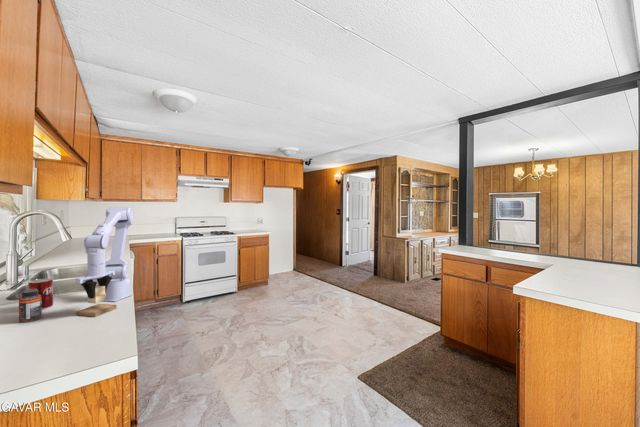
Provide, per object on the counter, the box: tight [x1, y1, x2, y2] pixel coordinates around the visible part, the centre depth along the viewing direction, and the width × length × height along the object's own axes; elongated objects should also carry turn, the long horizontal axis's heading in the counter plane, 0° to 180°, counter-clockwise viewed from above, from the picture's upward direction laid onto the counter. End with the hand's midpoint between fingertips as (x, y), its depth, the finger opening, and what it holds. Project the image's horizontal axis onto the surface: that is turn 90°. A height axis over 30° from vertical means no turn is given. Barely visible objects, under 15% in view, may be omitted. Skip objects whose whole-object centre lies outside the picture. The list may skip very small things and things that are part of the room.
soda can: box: [27, 278, 54, 311], centre depth 114 cm, size 7×7×12 cm
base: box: [76, 303, 117, 318], centre depth 110 cm, size 9×9×2 cm
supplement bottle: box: [18, 289, 43, 323], centre depth 102 cm, size 6×6×11 cm
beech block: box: [86, 285, 106, 304], centre depth 110 cm, size 4×4×6 cm
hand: (96, 296), depth 110 cm, fingers closed on beech block, 4 cm apart
